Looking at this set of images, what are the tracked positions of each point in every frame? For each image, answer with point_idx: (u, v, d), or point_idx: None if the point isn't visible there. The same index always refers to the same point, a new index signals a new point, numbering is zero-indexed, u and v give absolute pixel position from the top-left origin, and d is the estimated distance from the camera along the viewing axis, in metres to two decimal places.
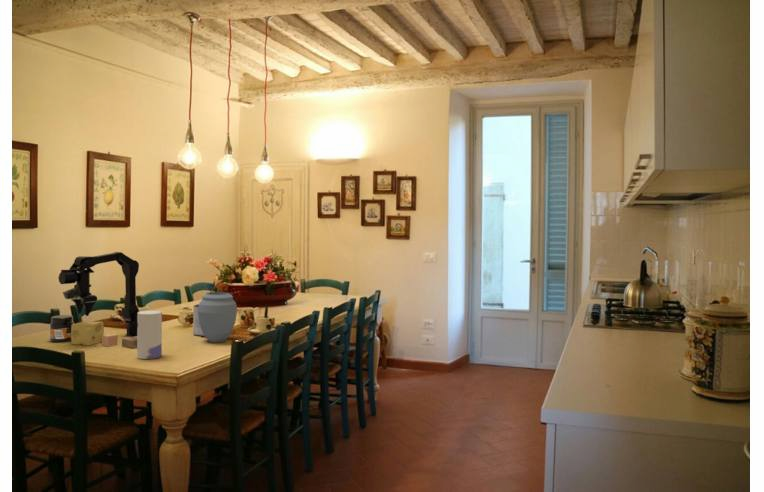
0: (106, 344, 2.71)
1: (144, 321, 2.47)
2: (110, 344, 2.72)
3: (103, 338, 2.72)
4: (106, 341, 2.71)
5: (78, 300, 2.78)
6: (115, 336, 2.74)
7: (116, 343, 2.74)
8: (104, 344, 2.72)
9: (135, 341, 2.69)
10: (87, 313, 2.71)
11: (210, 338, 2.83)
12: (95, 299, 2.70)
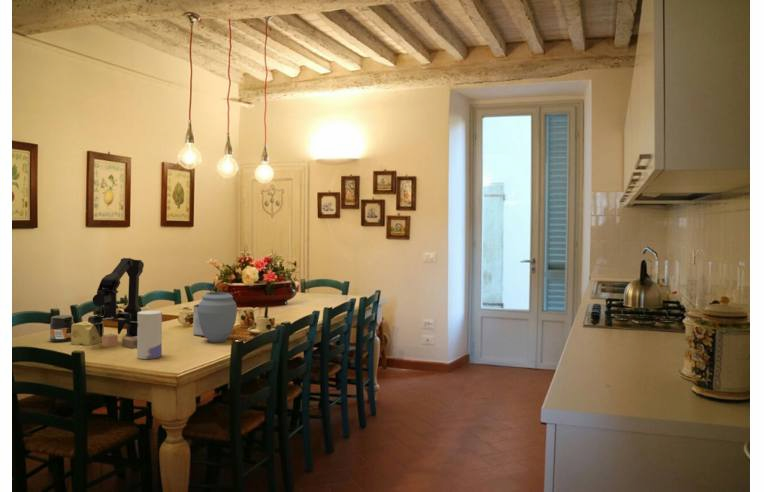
0: (106, 344, 2.71)
1: (144, 321, 2.47)
2: (110, 344, 2.72)
3: (103, 338, 2.72)
4: (106, 341, 2.71)
5: (119, 320, 2.78)
6: (115, 336, 2.74)
7: (116, 343, 2.74)
8: (104, 344, 2.72)
9: (135, 341, 2.69)
10: (99, 334, 2.70)
11: (210, 338, 2.83)
12: (93, 321, 2.65)
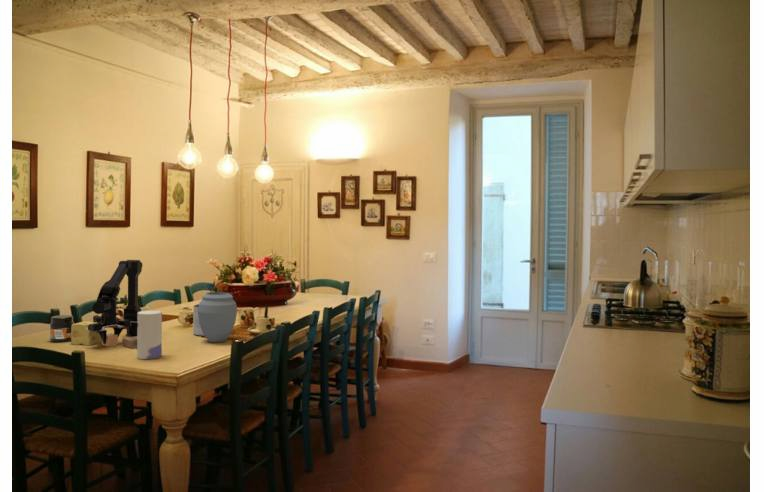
0: (106, 344, 2.71)
1: (144, 321, 2.47)
2: (110, 344, 2.72)
3: None
4: (106, 341, 2.71)
5: (115, 328, 2.76)
6: (115, 336, 2.74)
7: (116, 343, 2.74)
8: (104, 344, 2.72)
9: (134, 341, 2.69)
10: (103, 341, 2.71)
11: (210, 338, 2.83)
12: (93, 329, 2.65)
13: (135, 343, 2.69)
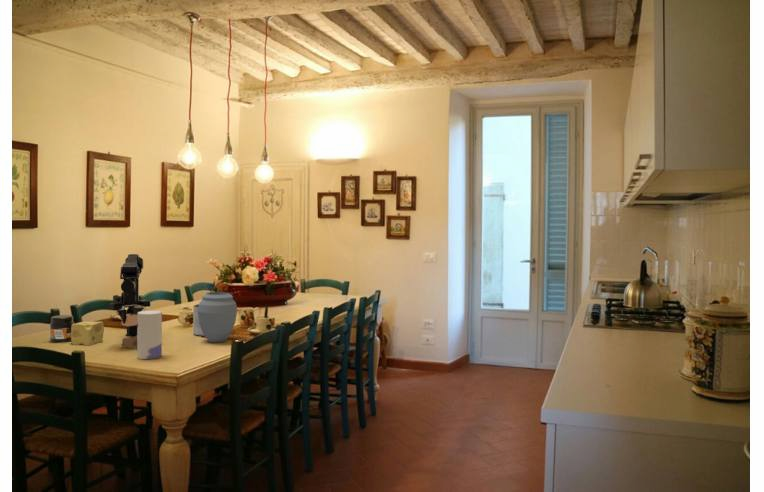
0: (126, 323, 2.69)
1: (144, 321, 2.47)
2: (130, 324, 2.70)
3: None
4: (126, 320, 2.69)
5: (135, 308, 2.75)
6: (135, 316, 2.72)
7: (136, 323, 2.72)
8: (124, 324, 2.70)
9: (134, 341, 2.69)
10: (123, 321, 2.70)
11: (210, 338, 2.83)
12: (113, 308, 2.63)
13: (135, 343, 2.69)
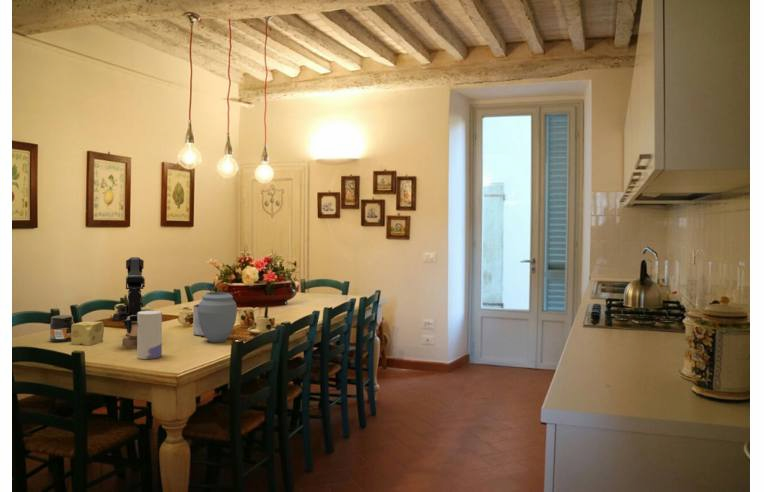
0: (131, 333, 2.70)
1: (144, 321, 2.47)
2: (135, 333, 2.70)
3: None
4: (131, 330, 2.70)
5: None
6: None
7: None
8: None
9: (134, 341, 2.69)
10: (128, 331, 2.70)
11: (210, 338, 2.83)
12: (118, 318, 2.63)
13: (134, 343, 2.69)
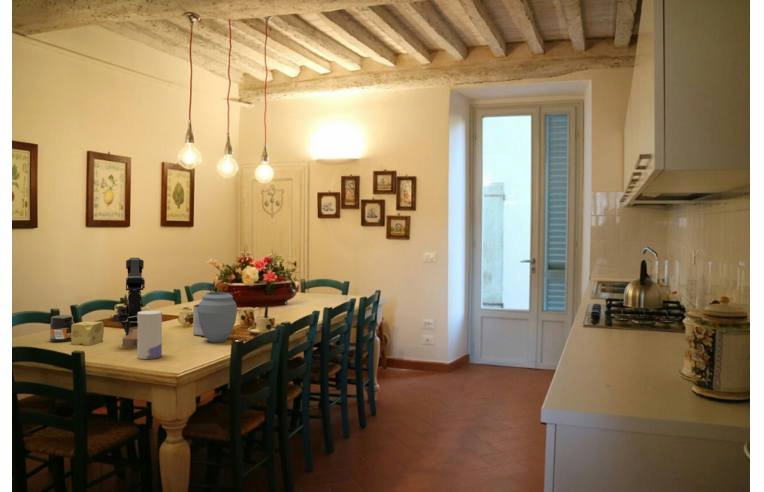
0: (131, 337, 2.70)
1: (144, 321, 2.47)
2: (135, 337, 2.70)
3: None
4: (131, 334, 2.70)
5: None
6: None
7: None
8: (129, 337, 2.71)
9: (133, 341, 2.68)
10: (126, 332, 2.69)
11: (210, 338, 2.83)
12: (118, 319, 2.63)
13: (134, 343, 2.69)
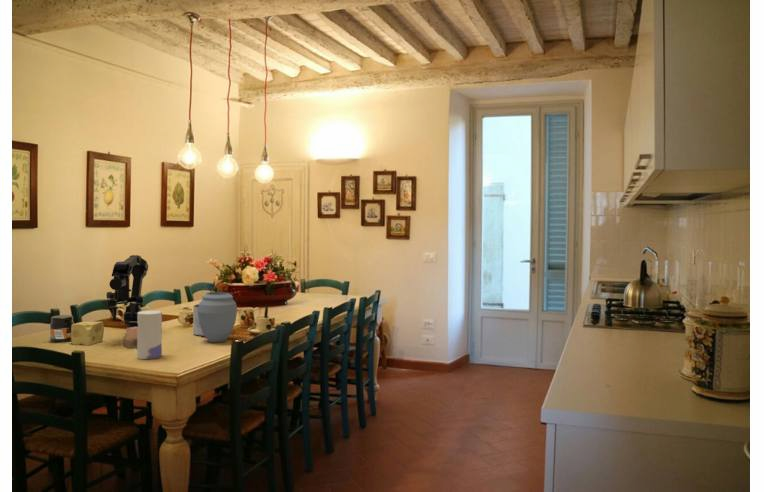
0: (131, 337, 2.70)
1: (144, 321, 2.47)
2: (135, 337, 2.70)
3: (128, 331, 2.71)
4: (131, 334, 2.70)
5: (132, 304, 2.85)
6: None
7: None
8: (129, 337, 2.71)
9: (133, 341, 2.68)
10: (113, 317, 2.77)
11: (210, 338, 2.83)
12: (107, 305, 2.72)
13: (134, 343, 2.69)
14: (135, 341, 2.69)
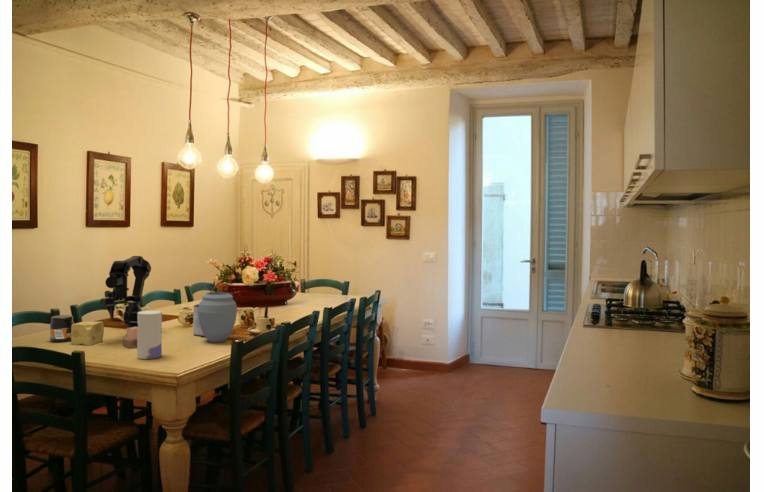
0: (131, 337, 2.69)
1: (144, 321, 2.47)
2: (135, 337, 2.70)
3: (128, 331, 2.71)
4: (131, 334, 2.69)
5: (130, 303, 2.86)
6: None
7: None
8: (129, 337, 2.70)
9: (133, 341, 2.68)
10: (111, 316, 2.78)
11: (210, 338, 2.83)
12: (105, 303, 2.73)
13: (134, 343, 2.69)
14: (135, 341, 2.69)
